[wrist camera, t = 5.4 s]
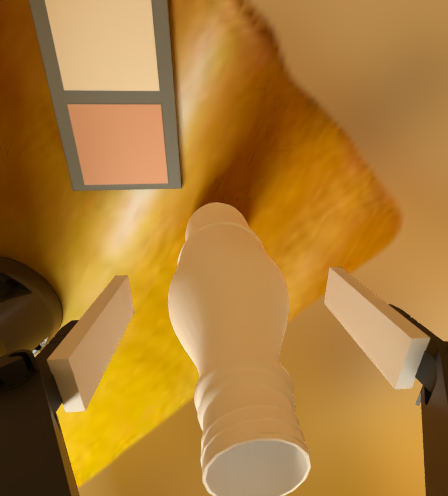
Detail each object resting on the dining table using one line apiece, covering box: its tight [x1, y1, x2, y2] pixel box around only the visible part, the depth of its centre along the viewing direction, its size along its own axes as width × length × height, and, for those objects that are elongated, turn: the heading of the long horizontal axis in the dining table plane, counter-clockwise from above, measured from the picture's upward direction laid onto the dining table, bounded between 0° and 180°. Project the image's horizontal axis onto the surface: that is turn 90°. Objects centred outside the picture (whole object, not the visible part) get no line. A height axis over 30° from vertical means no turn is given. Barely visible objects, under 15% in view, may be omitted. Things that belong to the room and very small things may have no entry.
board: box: [29, 0, 182, 191], centre depth 24 cm, size 12×18×1 cm, turn 1°
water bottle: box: [168, 202, 311, 496], centre depth 18 cm, size 7×7×25 cm
